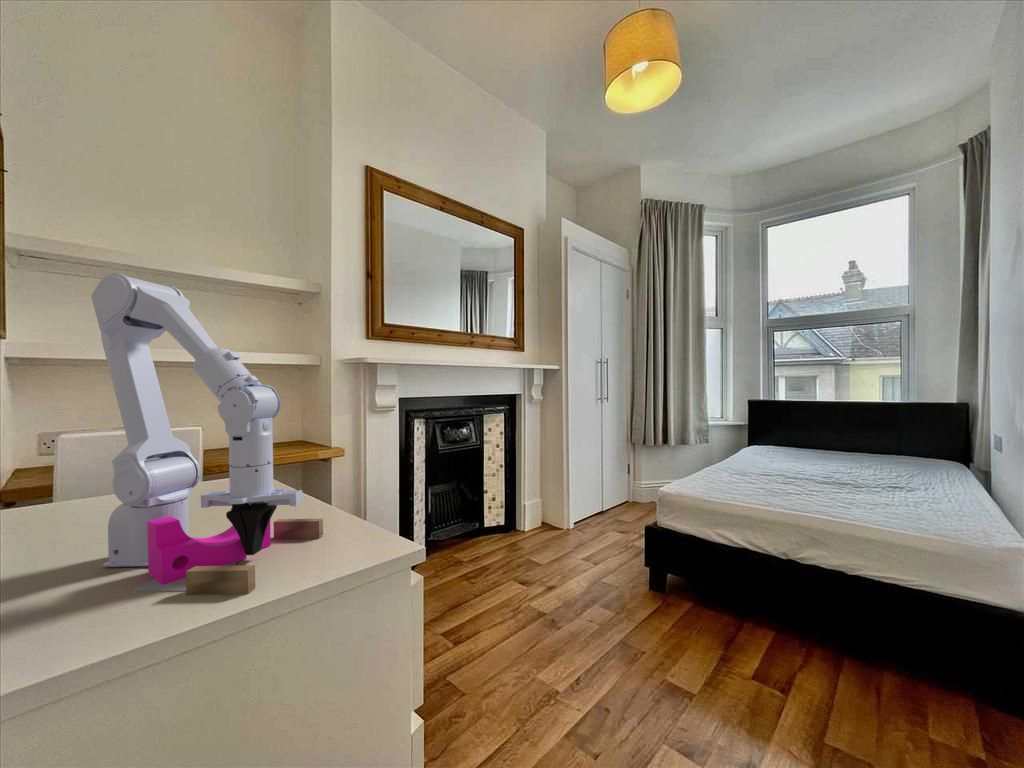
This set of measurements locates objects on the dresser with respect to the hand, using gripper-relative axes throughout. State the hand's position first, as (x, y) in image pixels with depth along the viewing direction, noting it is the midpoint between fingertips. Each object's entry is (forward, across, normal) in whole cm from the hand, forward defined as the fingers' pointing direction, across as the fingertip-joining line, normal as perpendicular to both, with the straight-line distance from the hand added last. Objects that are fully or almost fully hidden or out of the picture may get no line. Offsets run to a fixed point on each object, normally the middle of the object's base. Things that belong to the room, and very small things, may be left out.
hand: (253, 552), depth 64 cm
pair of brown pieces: (+1, +2, 0) cm, 2 cm away
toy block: (+1, -6, 0) cm, 6 cm away
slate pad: (+1, -6, 0) cm, 6 cm away
